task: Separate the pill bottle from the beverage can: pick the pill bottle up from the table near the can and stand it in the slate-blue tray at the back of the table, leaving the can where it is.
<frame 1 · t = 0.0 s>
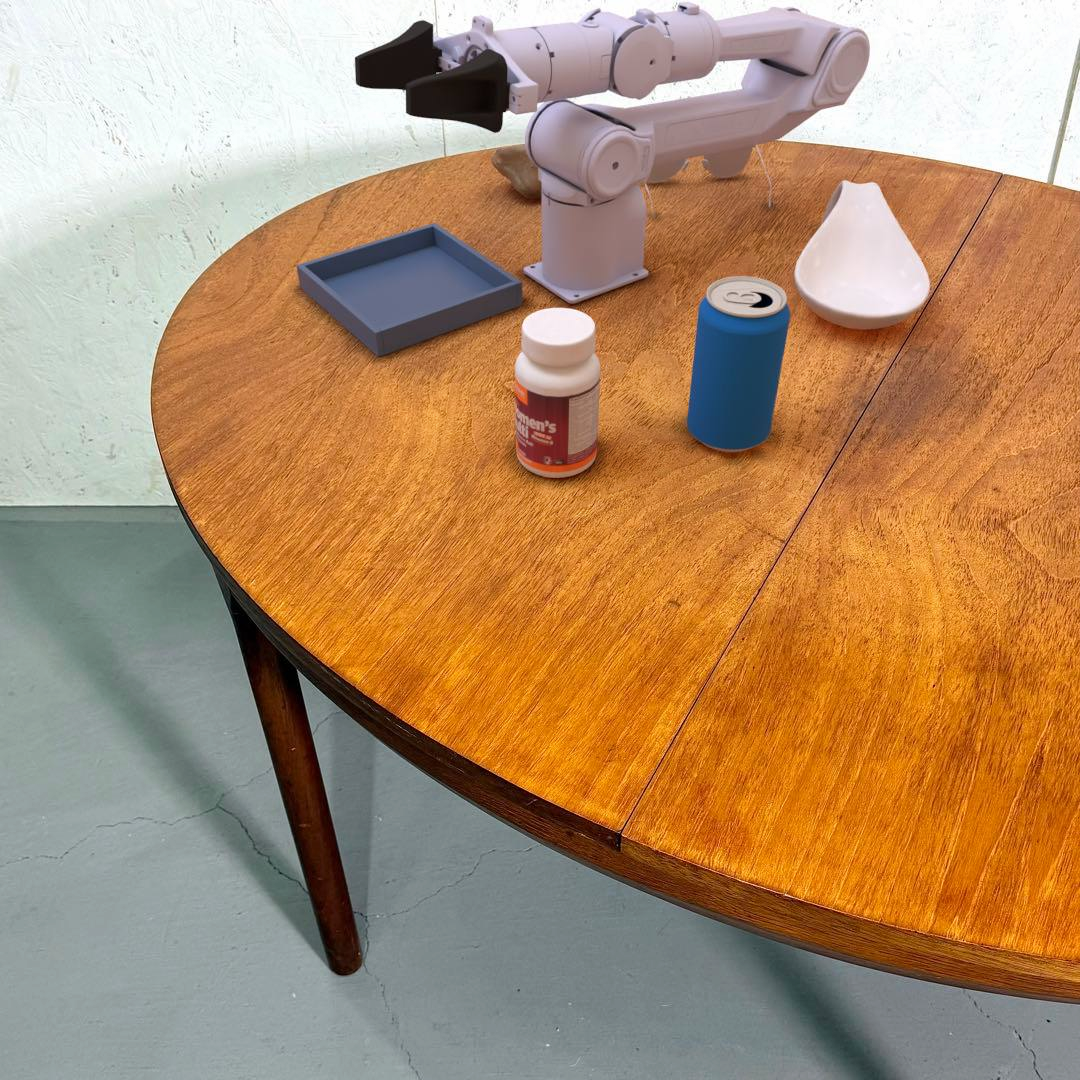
hand: (381, 85, 79), 22 cm above the table, tool horizontal, fingers open, 7 cm apart
beverage can: (727, 435, 83), on the table
pill bottle: (556, 458, 81), on the table
fossil: (538, 195, 117), on the table
sunglasses: (701, 197, 116), on the table
spoon rest: (848, 285, 101), on the table
slate tray: (409, 296, 99), on the table
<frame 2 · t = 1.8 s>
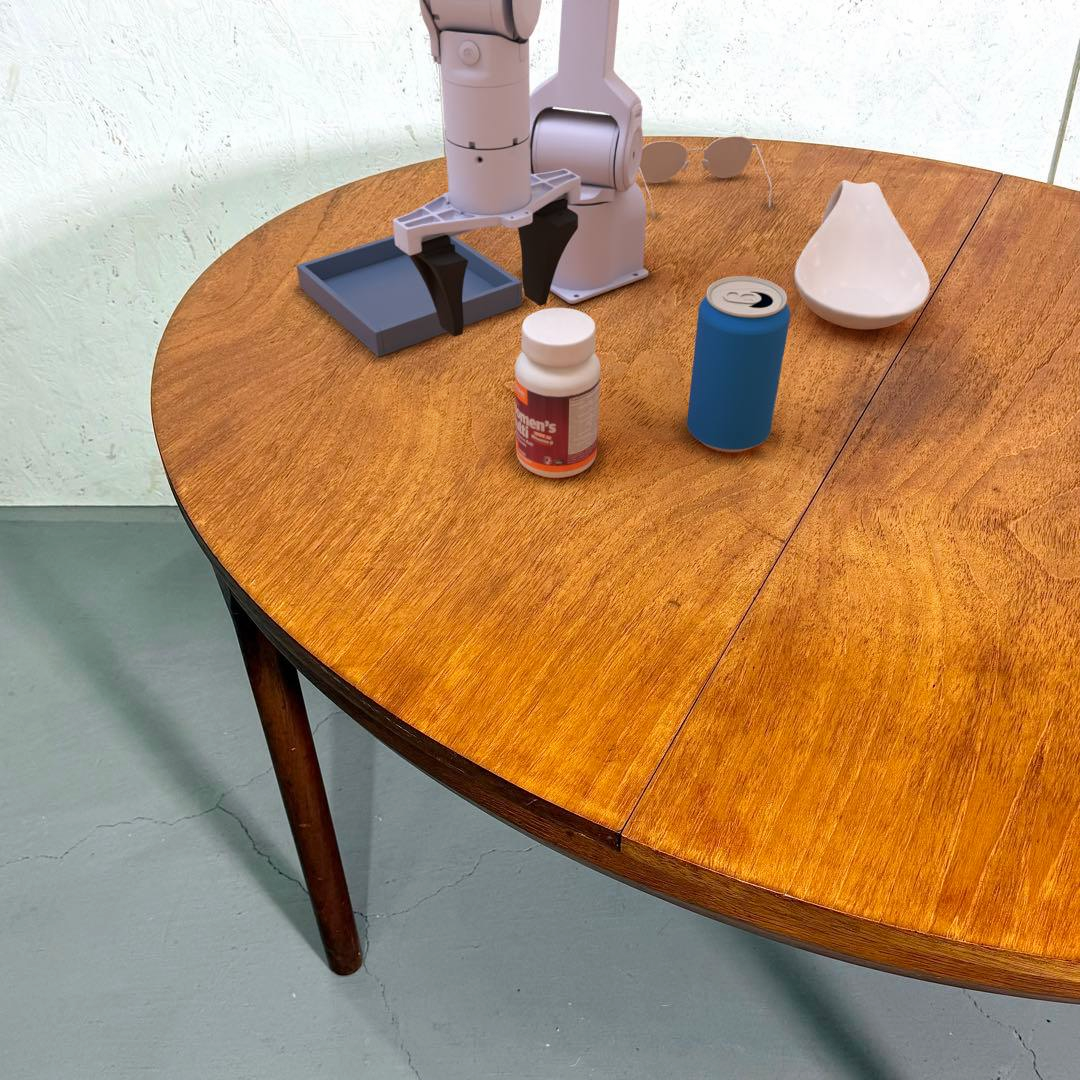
hand: (494, 314, 80), 8 cm above the table, tool pointing down, fingers open, 7 cm apart
nothing on the table moved.
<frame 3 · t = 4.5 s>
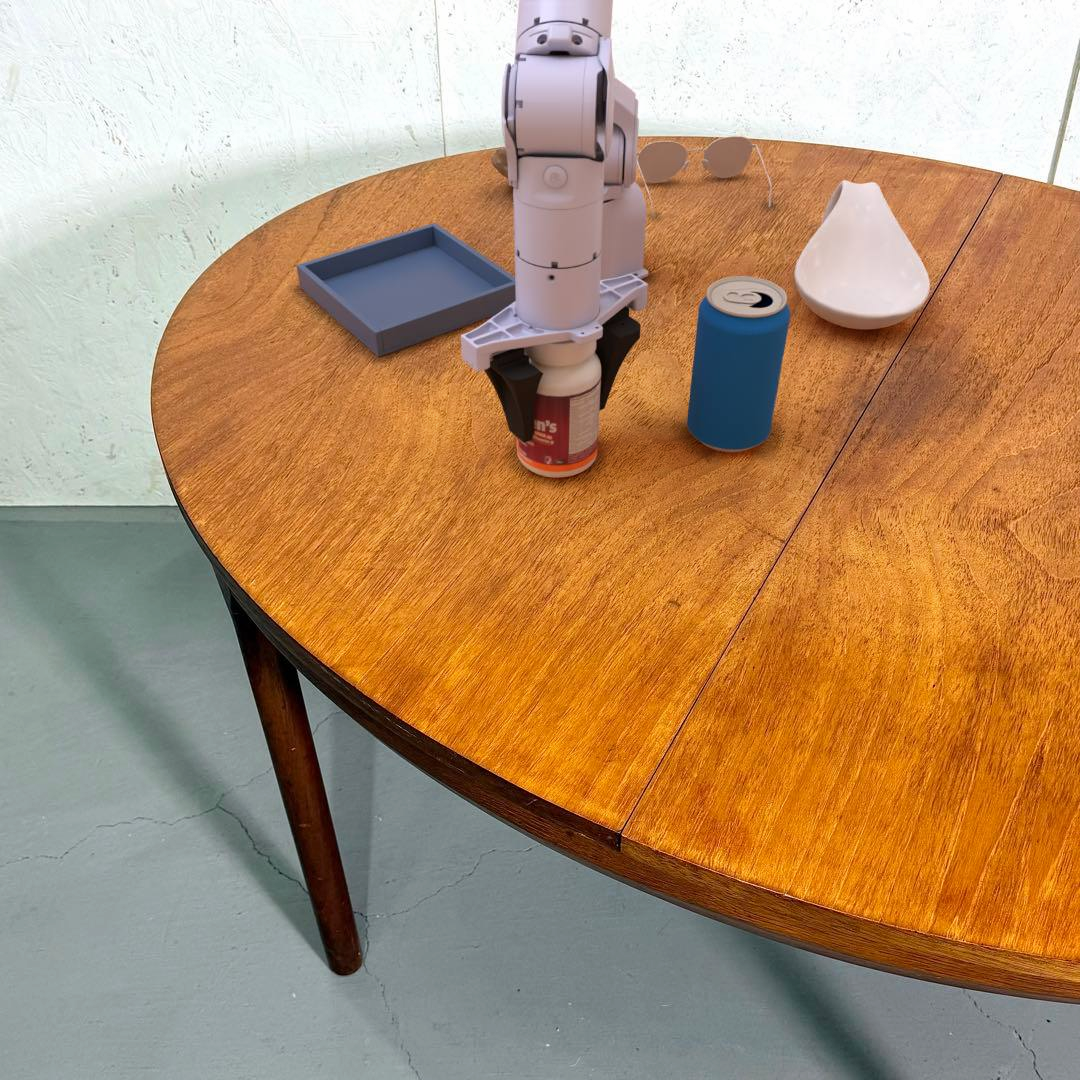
hand: (557, 419, 79), 3 cm above the table, tool pointing down, fingers closed on pill bottle, 6 cm apart
pill bottle: (557, 457, 81), on the table, touching gripper
everything else where it was.
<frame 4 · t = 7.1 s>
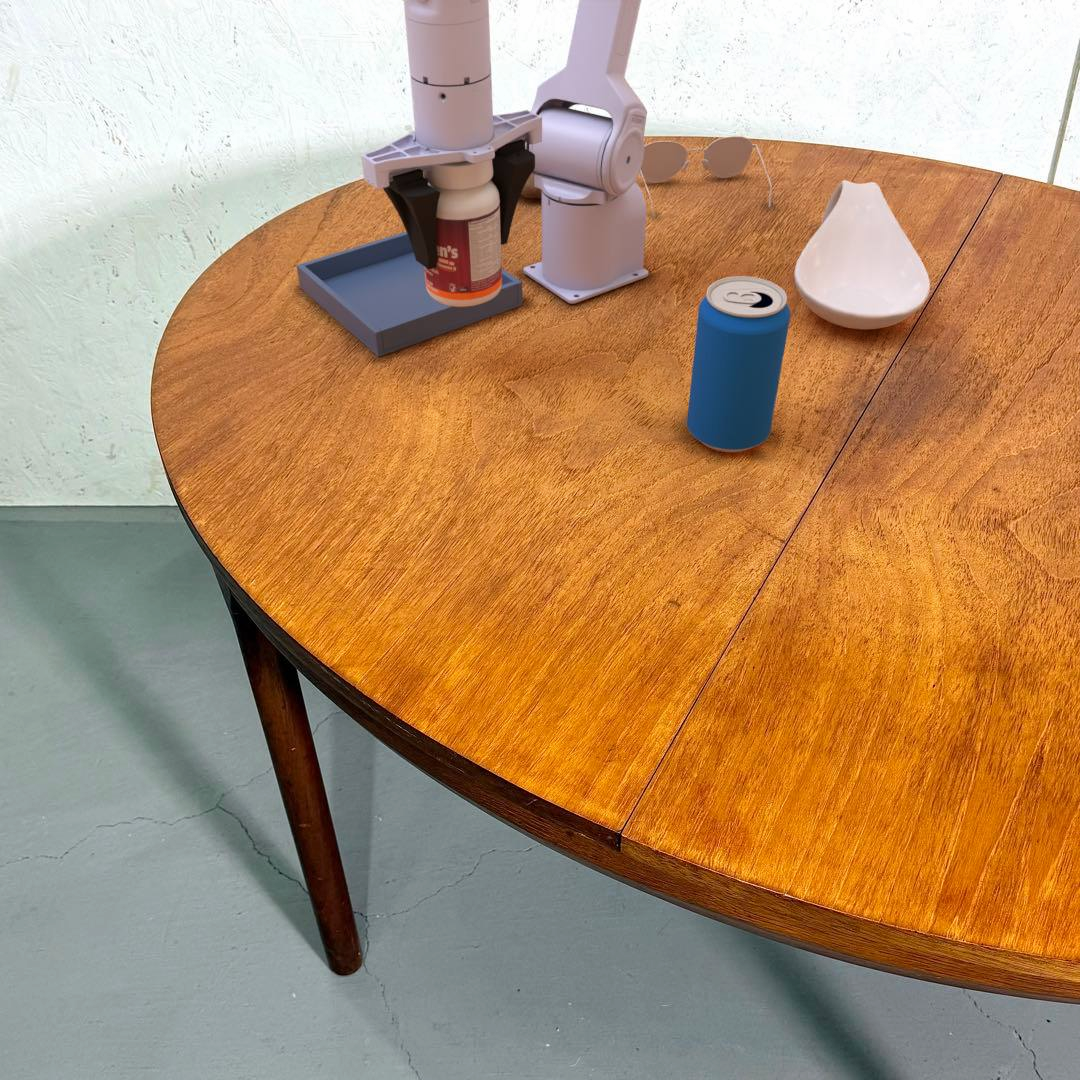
hand: (461, 251, 84), 10 cm above the table, tool pointing down, fingers closed on pill bottle, 6 cm apart
pill bottle: (464, 292, 86), point 7 cm above the table, touching gripper
everything else where it was.
when the fingers open (4 cm above the table, at t = 10.0 s): pill bottle stays where it is, resting on slate tray.
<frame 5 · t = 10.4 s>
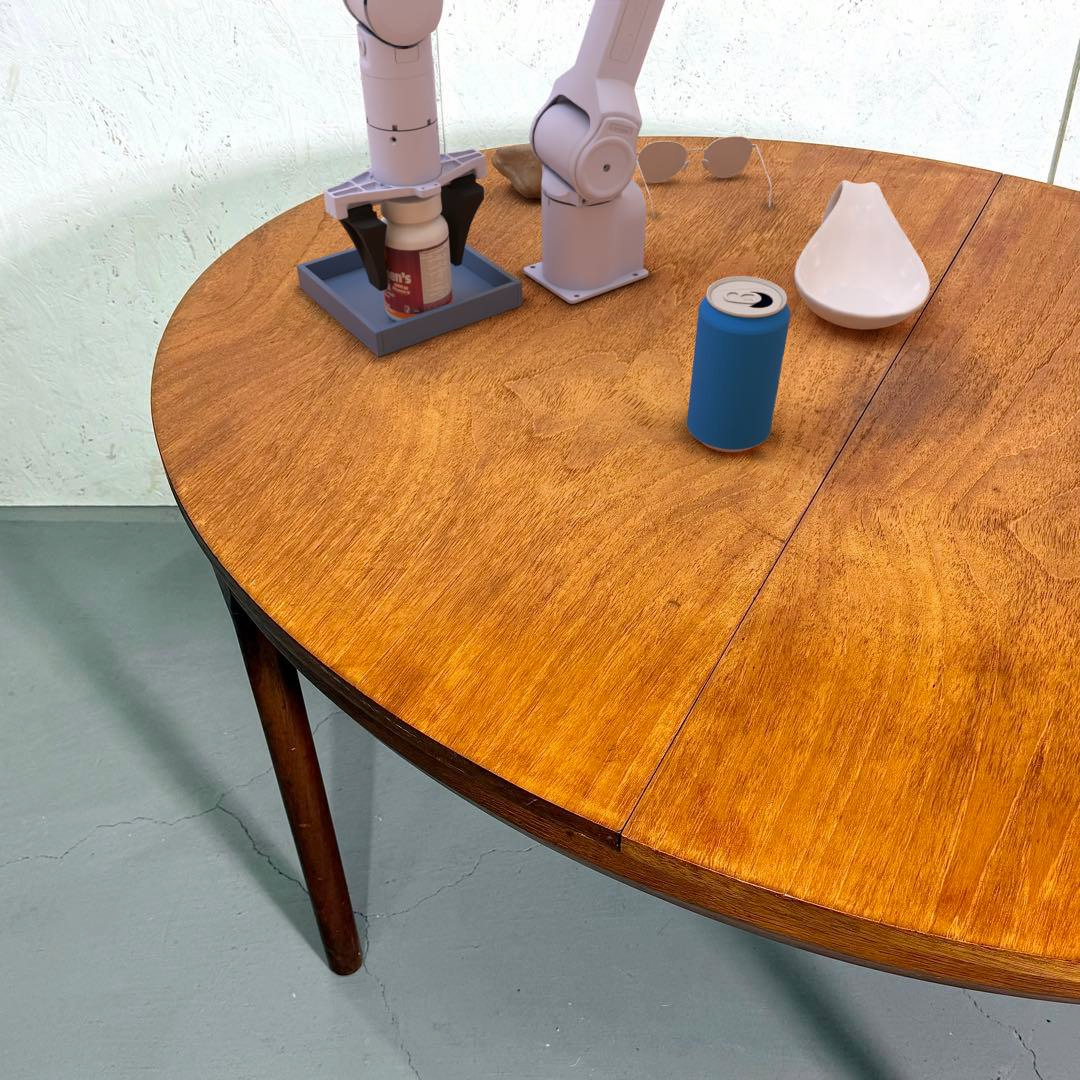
hand: (416, 273, 94), 4 cm above the table, tool pointing down, fingers open, 7 cm apart
pill bottle: (420, 312, 97), resting on slate tray
everything else where it was.
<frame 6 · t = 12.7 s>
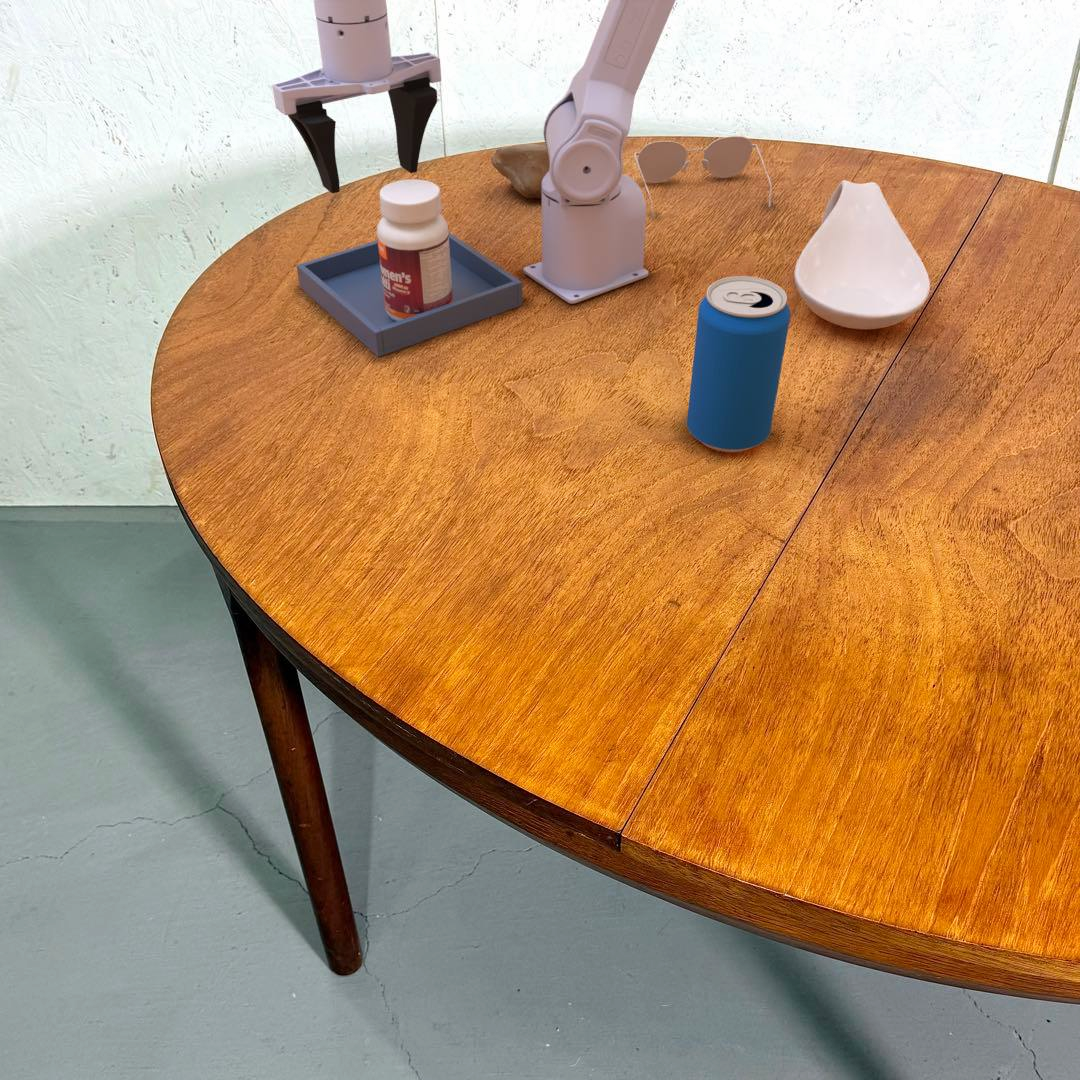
hand: (370, 178, 94), 10 cm above the table, tool pointing down, fingers open, 7 cm apart
nothing on the table moved.
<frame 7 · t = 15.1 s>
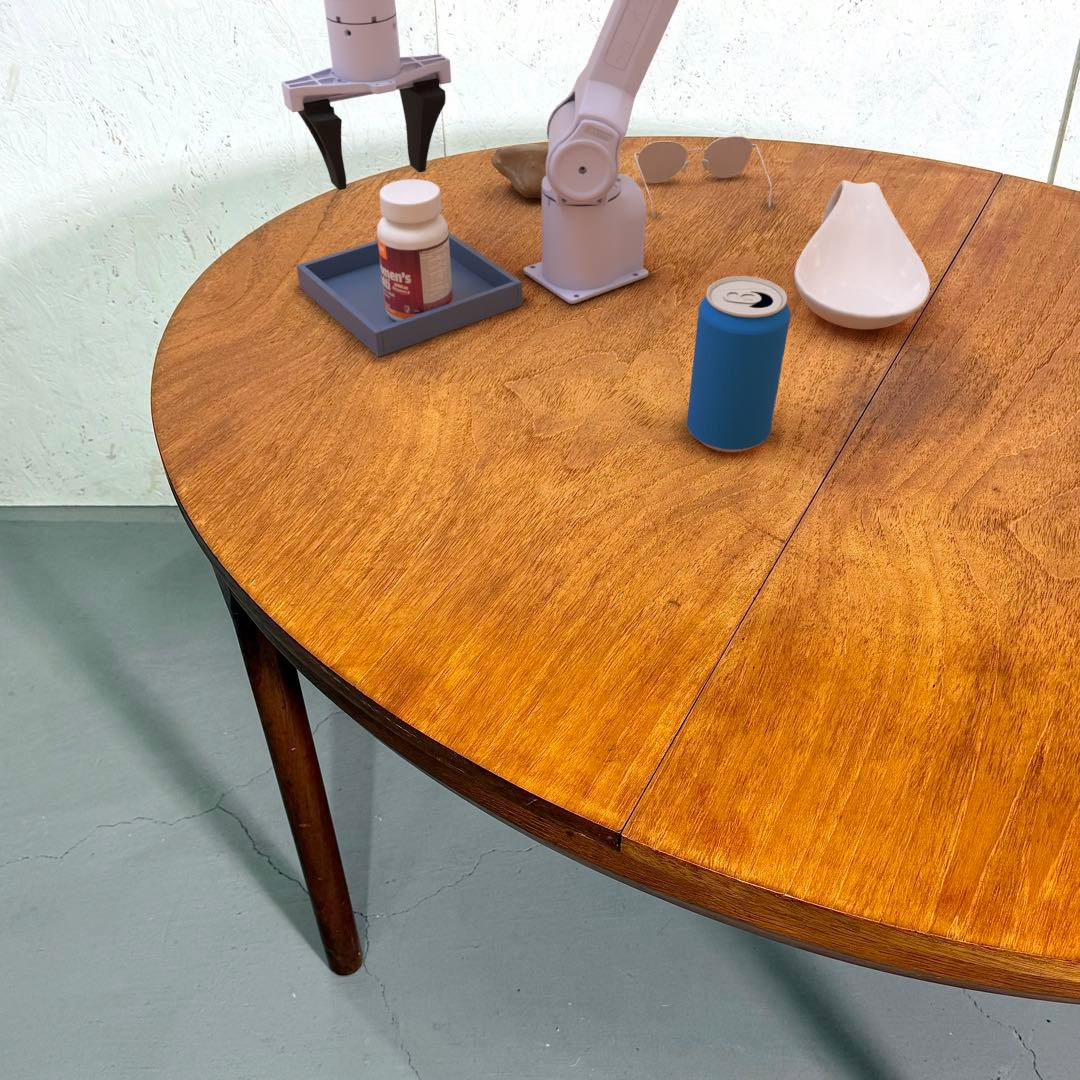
hand: (379, 176, 96), 10 cm above the table, tool pointing down, fingers open, 7 cm apart
nothing on the table moved.
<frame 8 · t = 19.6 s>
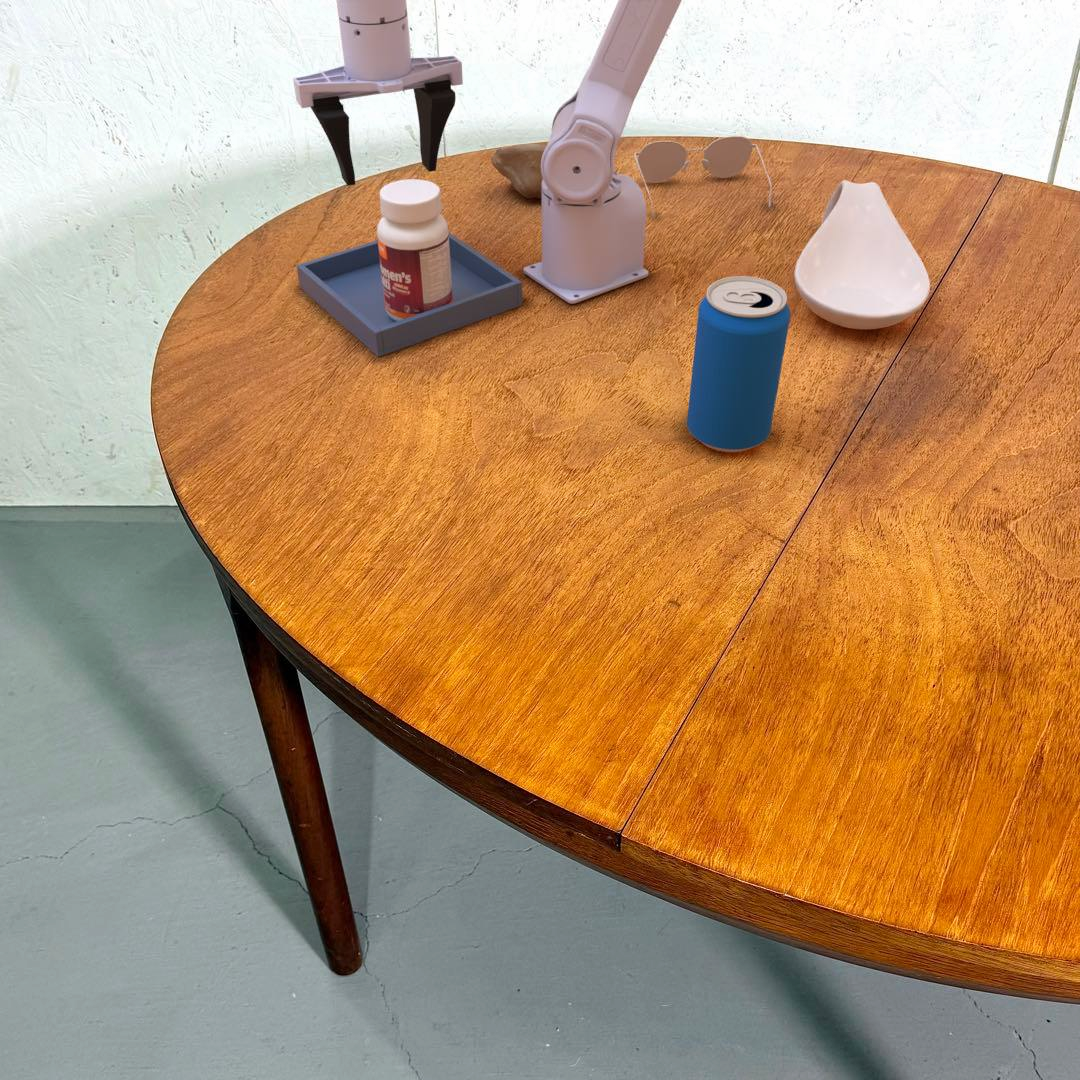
hand: (389, 174, 97), 9 cm above the table, tool pointing down, fingers open, 7 cm apart
nothing on the table moved.
at the end: pill bottle inside the target area in the slate tray (3.6 cm from its centre), point 0.2 cm above the slate tray's base; pill bottle tilted 0°; beverage can moved 0.2 cm from its start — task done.
